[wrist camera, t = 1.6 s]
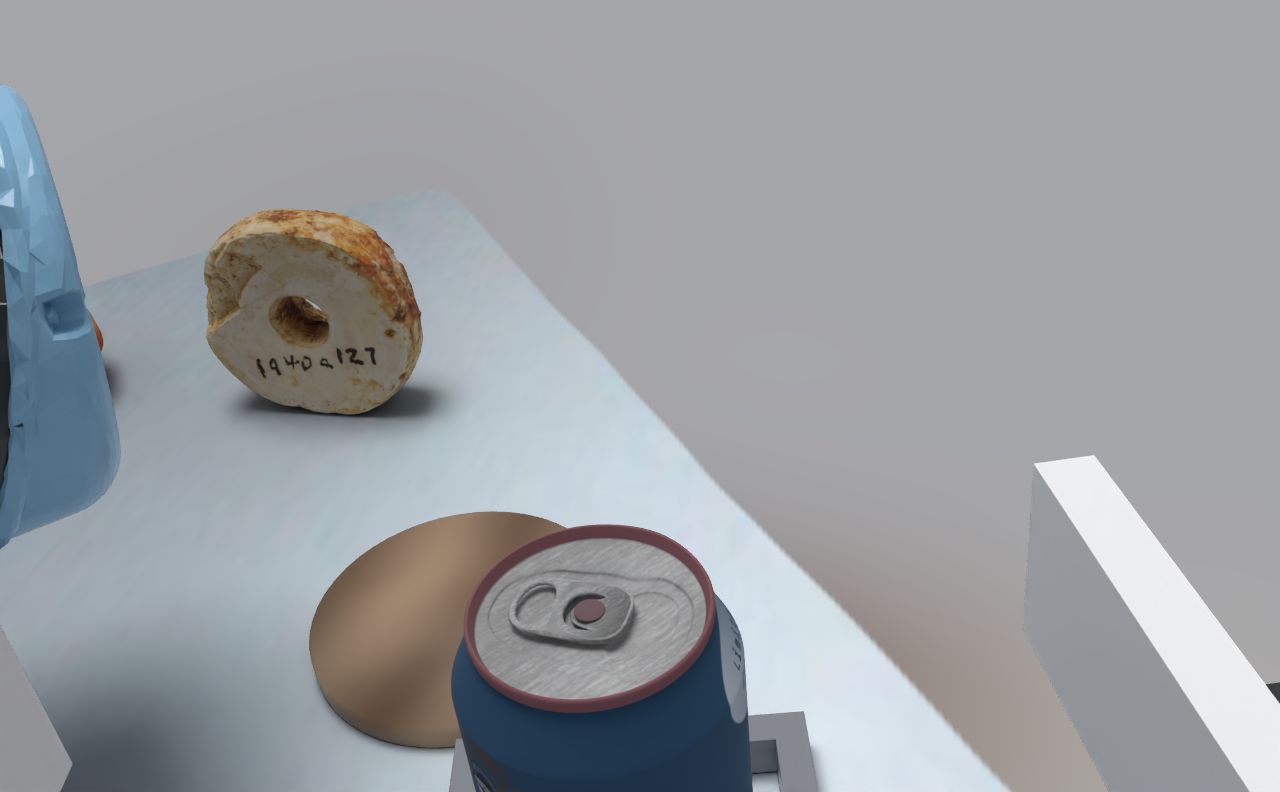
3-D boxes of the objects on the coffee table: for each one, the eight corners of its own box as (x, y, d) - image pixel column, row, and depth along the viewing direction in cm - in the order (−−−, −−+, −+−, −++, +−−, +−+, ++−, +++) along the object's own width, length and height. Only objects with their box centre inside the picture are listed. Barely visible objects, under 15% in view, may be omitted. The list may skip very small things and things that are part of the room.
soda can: (782, 835, 35) (770, 525, 28) (727, 1068, 30) (696, 752, 23) (564, 791, 37) (506, 492, 30) (476, 1001, 32) (381, 694, 25)
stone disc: (451, 383, 58) (411, 196, 52) (422, 427, 55) (375, 233, 49) (263, 372, 60) (206, 192, 55) (226, 413, 57) (161, 227, 52)
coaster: (260, 725, 40) (252, 705, 40) (389, 520, 49) (385, 501, 49) (565, 768, 38) (560, 747, 37) (644, 543, 46) (642, 524, 46)
